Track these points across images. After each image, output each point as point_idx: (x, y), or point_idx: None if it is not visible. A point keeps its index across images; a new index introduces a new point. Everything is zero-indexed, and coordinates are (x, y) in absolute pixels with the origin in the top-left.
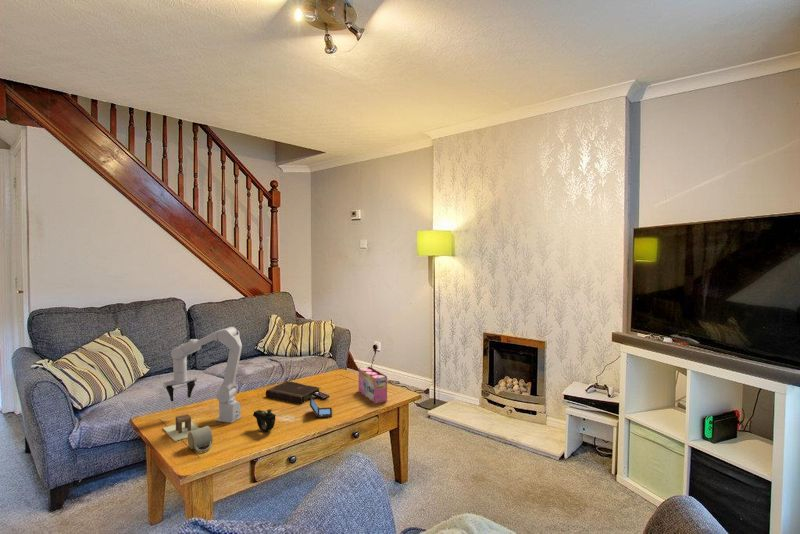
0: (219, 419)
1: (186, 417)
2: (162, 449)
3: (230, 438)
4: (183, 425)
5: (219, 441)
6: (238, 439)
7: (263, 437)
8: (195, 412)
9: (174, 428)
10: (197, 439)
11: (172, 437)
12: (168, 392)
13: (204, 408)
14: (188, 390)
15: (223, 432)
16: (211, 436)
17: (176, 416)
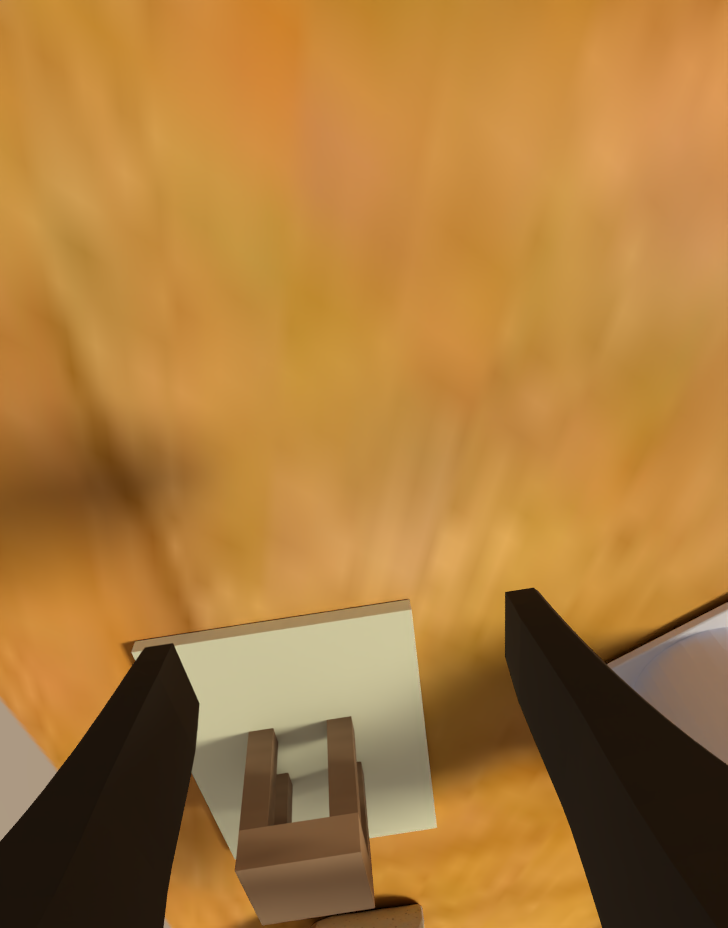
0: (634, 686)
1: (335, 907)
2: None
3: (538, 894)
4: (322, 680)
5: (474, 902)
6: (565, 909)
7: None
8: (547, 323)
9: (239, 706)
10: None
11: (219, 824)
12: (13, 860)
13: (720, 212)
14: (575, 762)
15: (544, 834)
16: None
17: (244, 868)
